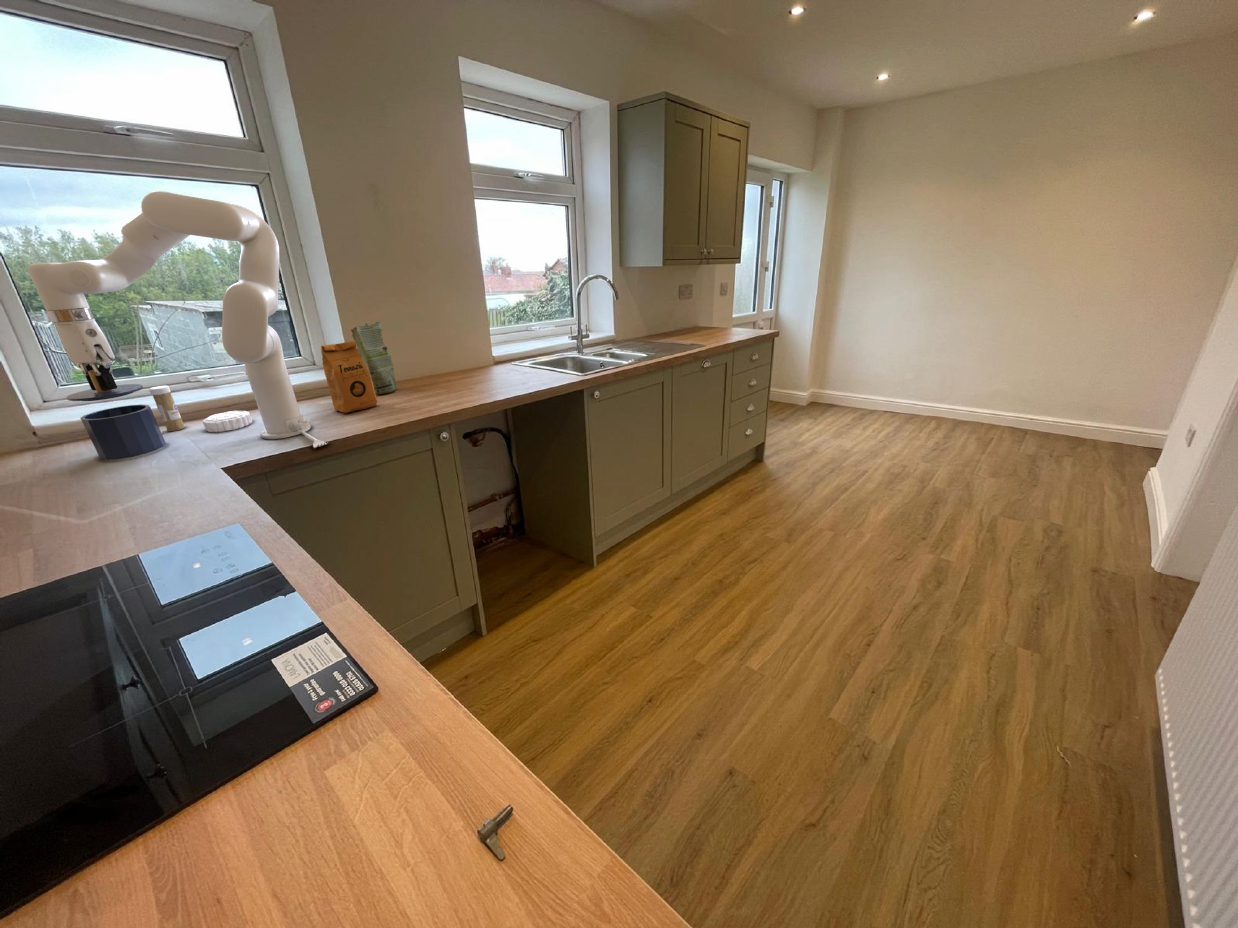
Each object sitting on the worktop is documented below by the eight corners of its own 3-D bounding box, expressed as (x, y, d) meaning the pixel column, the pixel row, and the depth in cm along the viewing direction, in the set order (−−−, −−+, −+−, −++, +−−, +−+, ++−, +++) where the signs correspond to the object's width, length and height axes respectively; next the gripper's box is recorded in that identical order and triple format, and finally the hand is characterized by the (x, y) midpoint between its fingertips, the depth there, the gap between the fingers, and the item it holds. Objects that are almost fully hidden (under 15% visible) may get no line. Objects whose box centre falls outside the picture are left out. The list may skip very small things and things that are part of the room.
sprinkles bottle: (184, 429, 155) (167, 387, 149) (165, 432, 153) (147, 389, 147) (186, 425, 158) (169, 384, 153) (168, 429, 156) (150, 386, 151)
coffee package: (382, 406, 168) (366, 340, 160) (343, 416, 160) (324, 347, 152) (369, 402, 175) (353, 338, 166) (332, 411, 167) (313, 344, 158)
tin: (177, 444, 141) (161, 405, 137) (121, 463, 130) (101, 421, 125) (146, 441, 146) (129, 403, 141) (88, 459, 134) (67, 418, 129)
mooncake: (197, 430, 153) (192, 419, 152) (236, 418, 163) (233, 408, 162) (222, 434, 149) (217, 422, 147) (261, 421, 159) (257, 410, 158)
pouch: (367, 397, 181) (349, 326, 171) (366, 390, 191) (349, 323, 181) (400, 392, 185) (384, 323, 176) (397, 386, 195) (382, 320, 185)
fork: (309, 432, 147) (307, 426, 146) (331, 447, 134) (329, 441, 133) (296, 435, 145) (294, 429, 144) (318, 451, 132) (316, 445, 131)
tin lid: (157, 389, 135) (147, 365, 133) (90, 404, 123) (78, 378, 120) (122, 387, 140) (111, 363, 137) (54, 401, 127) (41, 375, 124)
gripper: (111, 314, 124) (142, 387, 131) (70, 314, 129) (102, 384, 136) (73, 318, 118) (107, 394, 125) (31, 318, 123) (67, 391, 130)
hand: (104, 388), depth 131 cm, fingers closed on tin lid, 3 cm apart
